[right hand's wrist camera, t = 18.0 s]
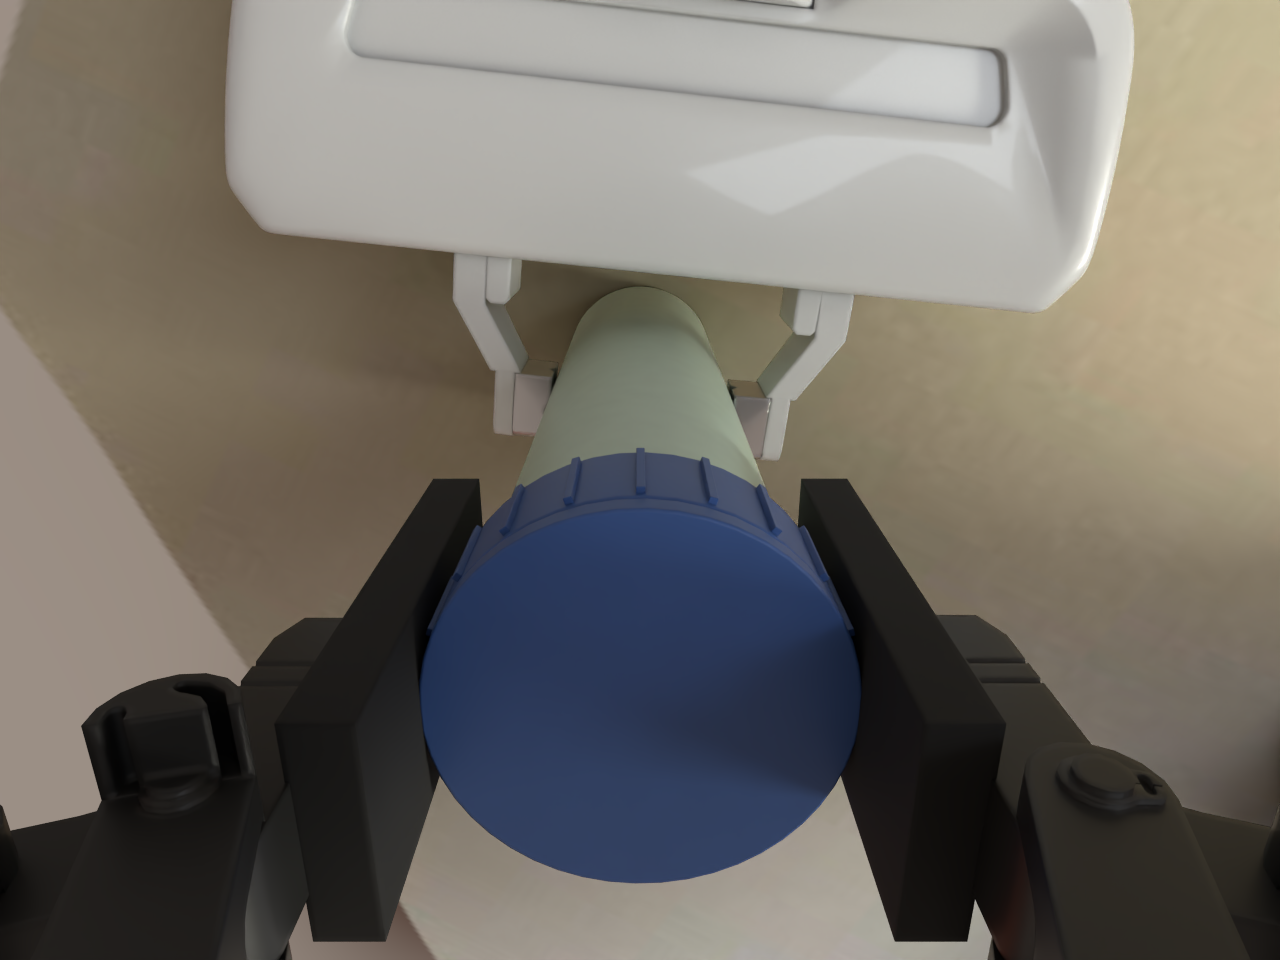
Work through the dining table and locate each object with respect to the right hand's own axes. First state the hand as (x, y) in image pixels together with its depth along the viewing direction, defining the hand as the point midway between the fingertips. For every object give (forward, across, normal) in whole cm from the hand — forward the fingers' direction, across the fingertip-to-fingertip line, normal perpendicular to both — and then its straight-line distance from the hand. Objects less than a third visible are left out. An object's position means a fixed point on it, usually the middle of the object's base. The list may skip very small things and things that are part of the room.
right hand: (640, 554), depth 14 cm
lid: (-4, 0, 0) cm, 4 cm away
